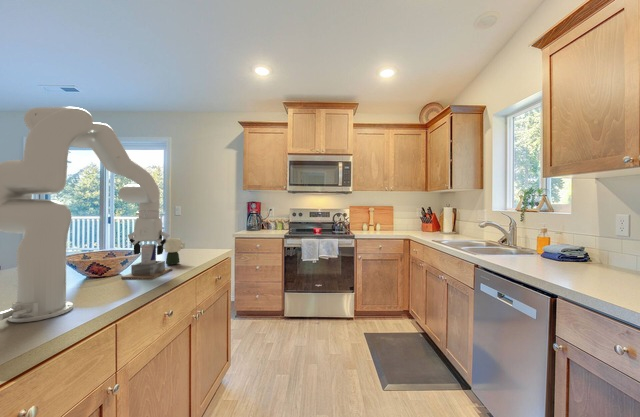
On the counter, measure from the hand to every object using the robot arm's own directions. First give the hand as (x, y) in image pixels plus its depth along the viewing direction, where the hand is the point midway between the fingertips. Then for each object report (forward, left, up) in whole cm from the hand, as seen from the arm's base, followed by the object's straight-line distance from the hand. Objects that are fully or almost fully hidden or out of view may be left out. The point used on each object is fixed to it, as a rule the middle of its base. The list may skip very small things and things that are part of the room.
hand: (148, 254), depth 117 cm
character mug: (+20, 0, -9) cm, 22 cm away
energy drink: (0, 0, -8) cm, 8 cm away
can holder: (0, 0, -9) cm, 9 cm away
